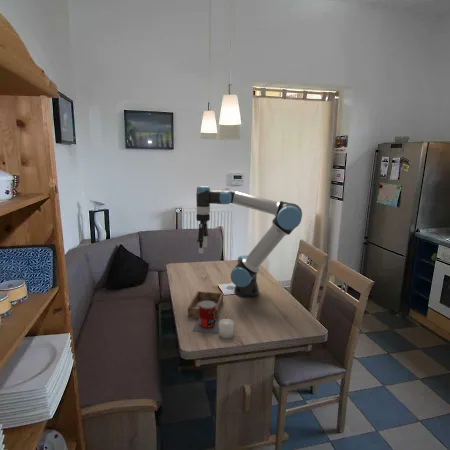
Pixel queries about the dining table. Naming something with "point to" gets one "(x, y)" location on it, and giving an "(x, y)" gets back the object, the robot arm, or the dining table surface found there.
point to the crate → (205, 296)
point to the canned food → (207, 314)
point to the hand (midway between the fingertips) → (203, 249)
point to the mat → (200, 329)
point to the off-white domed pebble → (226, 328)
